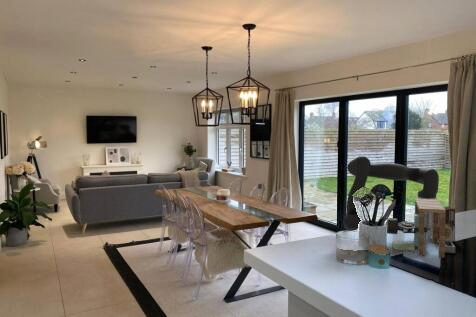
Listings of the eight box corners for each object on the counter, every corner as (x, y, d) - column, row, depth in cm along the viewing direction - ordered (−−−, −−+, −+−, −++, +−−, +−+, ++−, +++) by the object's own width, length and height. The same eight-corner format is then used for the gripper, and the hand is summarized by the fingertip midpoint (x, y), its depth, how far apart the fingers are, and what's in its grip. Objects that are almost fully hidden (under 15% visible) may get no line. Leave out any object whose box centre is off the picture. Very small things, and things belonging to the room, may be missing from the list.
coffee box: (449, 237, 182) (449, 206, 181) (455, 241, 176) (456, 208, 175) (430, 237, 183) (430, 206, 182) (435, 241, 177) (436, 209, 176)
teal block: (413, 242, 171) (414, 213, 170) (424, 243, 169) (425, 214, 168) (414, 245, 167) (415, 216, 166) (425, 246, 165) (426, 216, 164)
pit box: (441, 246, 169) (441, 240, 169) (451, 247, 167) (451, 241, 167) (444, 252, 160) (444, 246, 160) (455, 253, 159) (455, 247, 159)
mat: (393, 241, 178) (393, 241, 178) (413, 243, 175) (413, 242, 175) (393, 249, 167) (393, 248, 167) (415, 251, 164) (415, 250, 164)
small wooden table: (414, 240, 179) (414, 198, 178) (437, 241, 176) (437, 199, 174) (418, 255, 158) (419, 208, 157) (444, 257, 154) (445, 209, 153)
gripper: (387, 221, 166) (428, 224, 160) (386, 214, 179) (425, 216, 173) (386, 237, 167) (428, 240, 160) (386, 229, 180) (424, 232, 173)
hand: (426, 228), depth 166 cm, fingers closed on teal block, 4 cm apart
